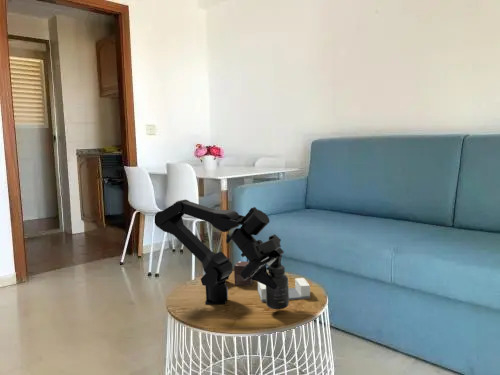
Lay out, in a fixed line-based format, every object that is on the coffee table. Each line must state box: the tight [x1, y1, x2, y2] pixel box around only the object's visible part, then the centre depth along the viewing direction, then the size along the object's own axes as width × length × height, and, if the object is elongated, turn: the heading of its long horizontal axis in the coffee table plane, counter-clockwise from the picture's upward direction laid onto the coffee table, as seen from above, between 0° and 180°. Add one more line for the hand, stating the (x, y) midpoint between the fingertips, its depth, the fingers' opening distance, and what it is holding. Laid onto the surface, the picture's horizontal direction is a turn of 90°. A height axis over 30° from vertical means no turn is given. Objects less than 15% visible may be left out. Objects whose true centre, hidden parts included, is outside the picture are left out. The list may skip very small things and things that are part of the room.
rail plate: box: [257, 277, 311, 303], centre depth 140 cm, size 16×9×4 cm, turn 97°
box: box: [233, 260, 254, 287], centre depth 154 cm, size 6×6×7 cm
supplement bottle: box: [265, 264, 290, 310], centre depth 126 cm, size 7×7×12 cm
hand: (281, 284), depth 125 cm, fingers closed on supplement bottle, 7 cm apart
